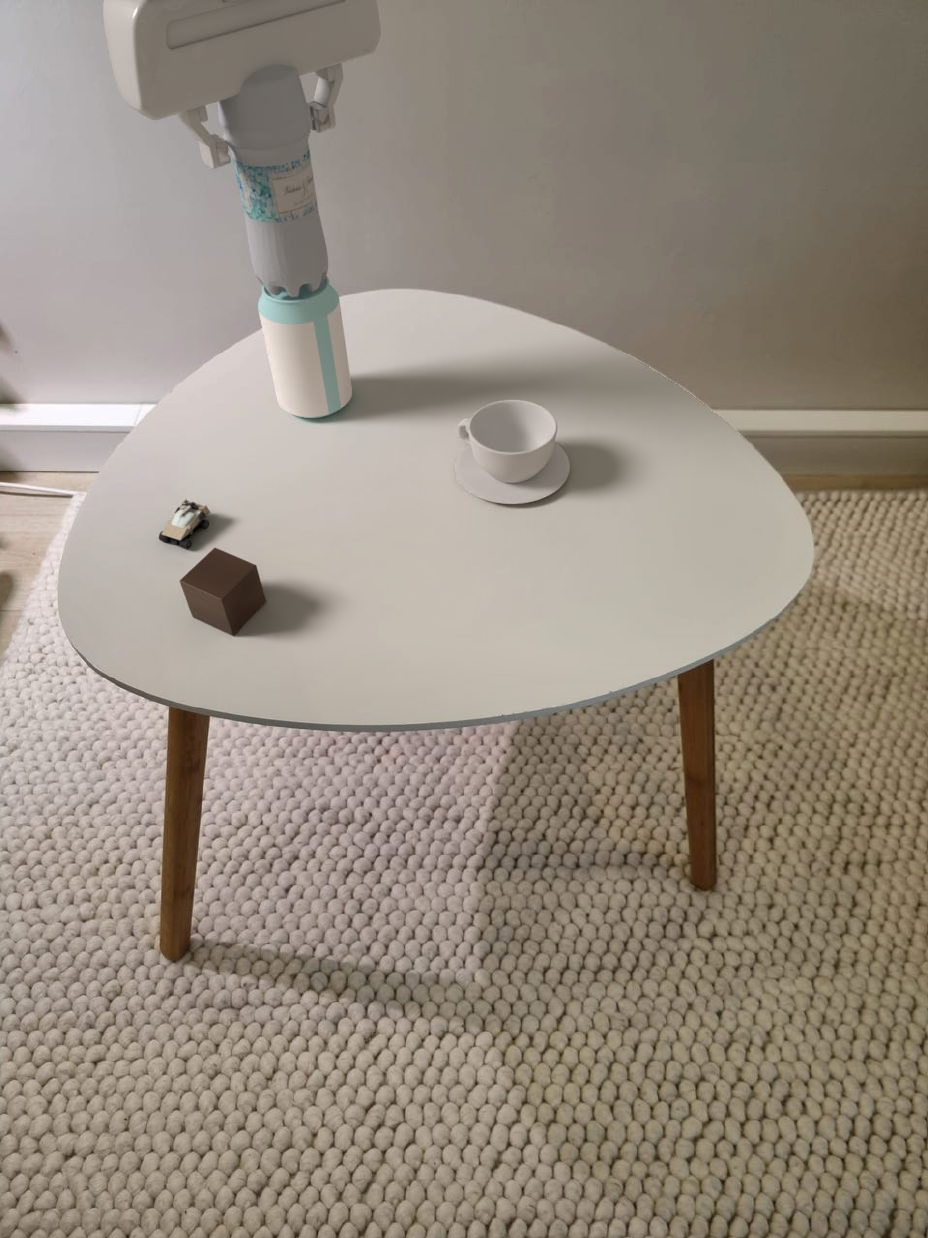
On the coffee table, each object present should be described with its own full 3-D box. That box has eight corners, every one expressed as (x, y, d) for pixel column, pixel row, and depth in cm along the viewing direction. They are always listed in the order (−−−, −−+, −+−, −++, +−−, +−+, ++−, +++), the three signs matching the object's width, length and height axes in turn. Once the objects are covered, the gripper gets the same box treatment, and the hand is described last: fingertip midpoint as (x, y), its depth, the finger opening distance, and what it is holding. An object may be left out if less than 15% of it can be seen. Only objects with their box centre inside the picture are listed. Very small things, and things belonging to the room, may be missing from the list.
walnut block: (233, 636, 71) (221, 600, 68) (192, 617, 72) (178, 580, 69) (266, 601, 73) (256, 565, 70) (226, 583, 74) (214, 546, 71)
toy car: (160, 542, 78) (153, 524, 76) (189, 511, 80) (183, 493, 79) (187, 551, 77) (180, 532, 75) (215, 519, 79) (209, 501, 78)
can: (265, 397, 91) (239, 280, 82) (328, 370, 93) (310, 254, 84) (302, 432, 87) (279, 314, 78) (367, 403, 89) (352, 285, 80)
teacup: (587, 452, 84) (590, 408, 80) (540, 521, 78) (542, 477, 74) (485, 423, 87) (484, 379, 83) (433, 487, 81) (430, 443, 78)
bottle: (295, 312, 78) (245, 39, 63) (238, 289, 81) (177, 22, 66) (349, 278, 81) (315, 11, 66) (293, 256, 84) (247, -5, 69)
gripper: (335, -109, 68) (357, 98, 79) (69, -50, 60) (132, 172, 70) (388, -95, 65) (404, 119, 75) (113, -30, 57) (173, 200, 67)
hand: (271, 146), depth 73 cm, fingers open, 8 cm apart
